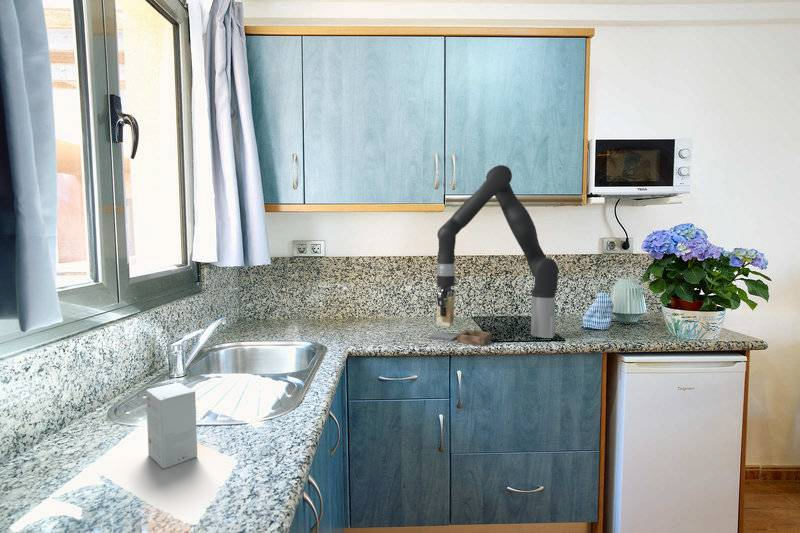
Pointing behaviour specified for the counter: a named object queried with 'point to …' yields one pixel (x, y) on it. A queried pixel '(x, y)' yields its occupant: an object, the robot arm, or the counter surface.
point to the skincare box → (449, 313)
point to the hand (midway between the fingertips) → (445, 315)
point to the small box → (171, 424)
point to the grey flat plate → (444, 336)
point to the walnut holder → (474, 337)
